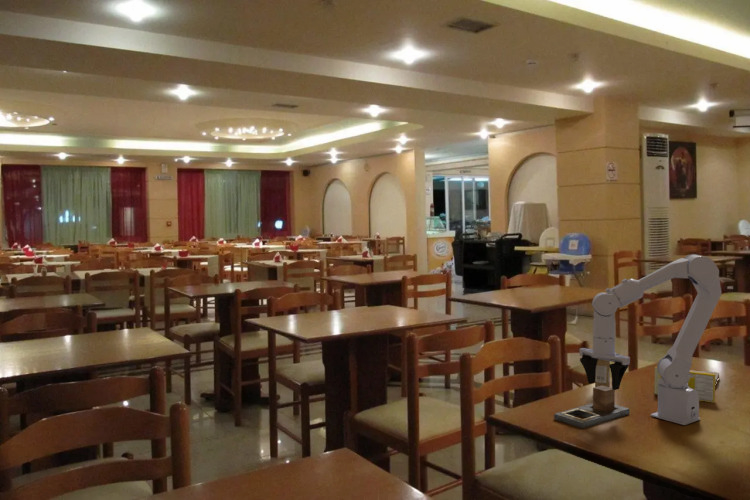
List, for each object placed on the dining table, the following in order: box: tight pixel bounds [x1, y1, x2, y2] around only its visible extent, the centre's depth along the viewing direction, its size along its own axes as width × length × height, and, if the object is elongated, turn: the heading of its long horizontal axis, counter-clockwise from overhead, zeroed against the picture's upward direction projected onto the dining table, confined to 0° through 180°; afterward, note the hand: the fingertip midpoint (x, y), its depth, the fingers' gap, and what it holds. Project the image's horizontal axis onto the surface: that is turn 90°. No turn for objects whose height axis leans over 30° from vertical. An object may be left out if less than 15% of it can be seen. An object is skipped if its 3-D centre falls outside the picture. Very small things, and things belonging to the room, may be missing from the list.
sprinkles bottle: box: [594, 359, 611, 388], centre depth 187 cm, size 5×5×14 cm
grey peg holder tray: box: [553, 402, 630, 430], centre depth 164 cm, size 9×20×2 cm, turn 124°
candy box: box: [653, 366, 716, 404], centre depth 180 cm, size 16×2×8 cm, turn 52°
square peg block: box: [592, 386, 616, 412], centre depth 167 cm, size 4×4×7 cm
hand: (603, 386), depth 166 cm, fingers open, 7 cm apart
